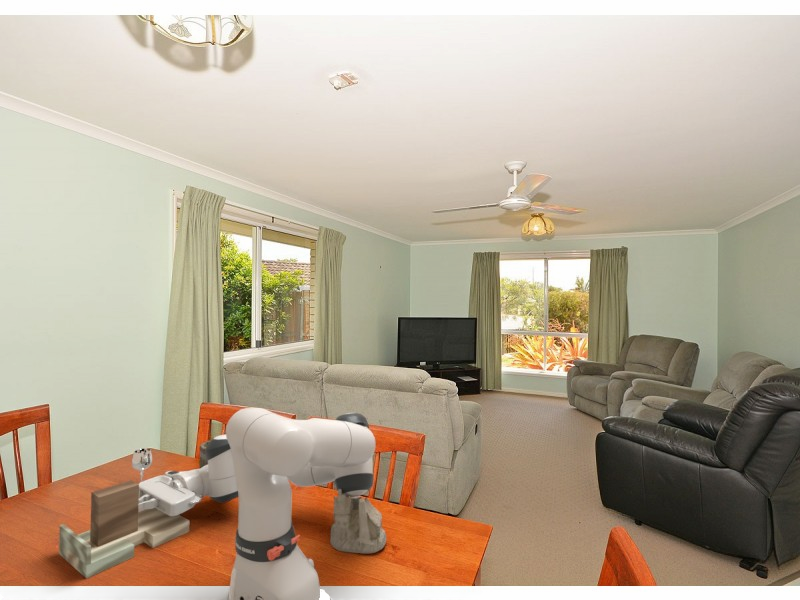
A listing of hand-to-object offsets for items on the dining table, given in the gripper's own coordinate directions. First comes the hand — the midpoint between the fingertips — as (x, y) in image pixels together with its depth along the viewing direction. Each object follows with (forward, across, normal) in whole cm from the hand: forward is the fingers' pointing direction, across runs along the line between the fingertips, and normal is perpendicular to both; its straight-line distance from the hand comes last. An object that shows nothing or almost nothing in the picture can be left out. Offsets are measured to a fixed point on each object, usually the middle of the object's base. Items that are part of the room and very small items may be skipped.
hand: (133, 507), depth 112 cm
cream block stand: (+2, 0, -8) cm, 9 cm away
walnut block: (+5, 0, -5) cm, 7 cm away
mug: (-36, +20, -9) cm, 42 cm away
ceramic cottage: (-36, -48, -8) cm, 60 cm away
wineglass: (-16, +31, -9) cm, 36 cm away
